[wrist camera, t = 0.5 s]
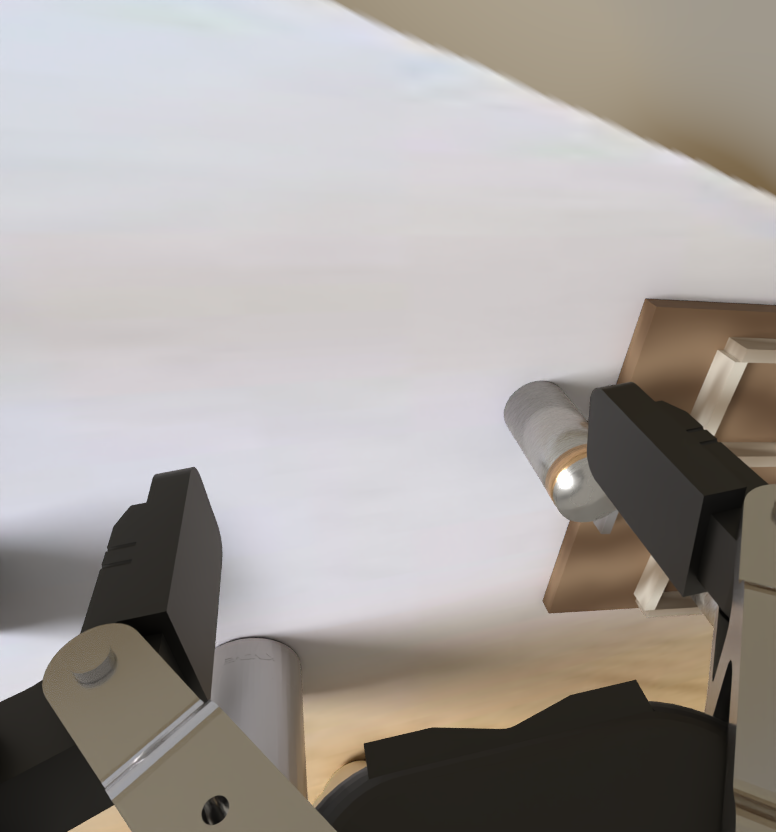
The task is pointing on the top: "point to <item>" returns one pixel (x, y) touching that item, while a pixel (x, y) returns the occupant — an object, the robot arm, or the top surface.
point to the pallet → (709, 405)
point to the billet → (557, 449)
